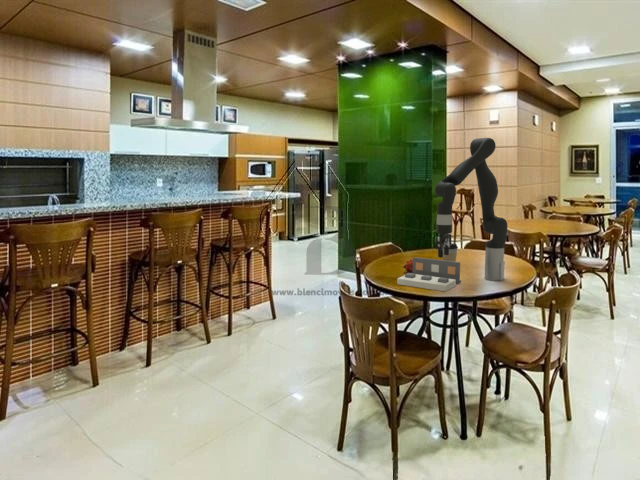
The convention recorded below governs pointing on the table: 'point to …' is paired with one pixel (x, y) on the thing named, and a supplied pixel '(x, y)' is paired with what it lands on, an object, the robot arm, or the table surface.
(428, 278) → the button middle
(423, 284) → the button board
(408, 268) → the dragon fruit
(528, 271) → the table surface
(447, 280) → the button near
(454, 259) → the coffee cup
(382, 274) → the table surface
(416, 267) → the pattern sign
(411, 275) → the button far
